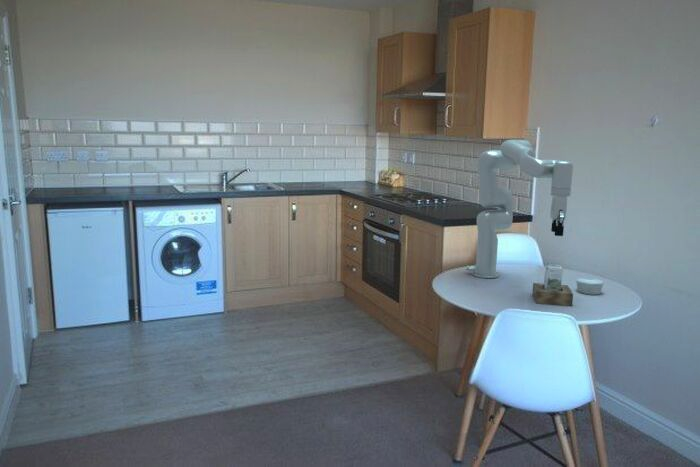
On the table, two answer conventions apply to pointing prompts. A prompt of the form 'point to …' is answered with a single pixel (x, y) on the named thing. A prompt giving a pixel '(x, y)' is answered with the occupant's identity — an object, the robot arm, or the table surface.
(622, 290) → the table surface
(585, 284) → the ramekin
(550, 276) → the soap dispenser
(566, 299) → the socket block
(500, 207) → the robot arm
